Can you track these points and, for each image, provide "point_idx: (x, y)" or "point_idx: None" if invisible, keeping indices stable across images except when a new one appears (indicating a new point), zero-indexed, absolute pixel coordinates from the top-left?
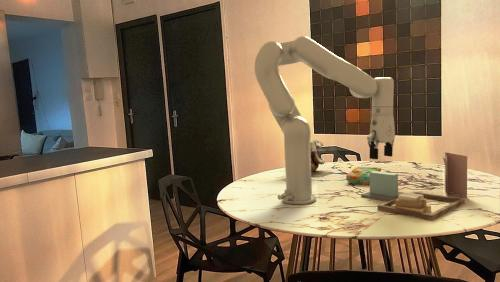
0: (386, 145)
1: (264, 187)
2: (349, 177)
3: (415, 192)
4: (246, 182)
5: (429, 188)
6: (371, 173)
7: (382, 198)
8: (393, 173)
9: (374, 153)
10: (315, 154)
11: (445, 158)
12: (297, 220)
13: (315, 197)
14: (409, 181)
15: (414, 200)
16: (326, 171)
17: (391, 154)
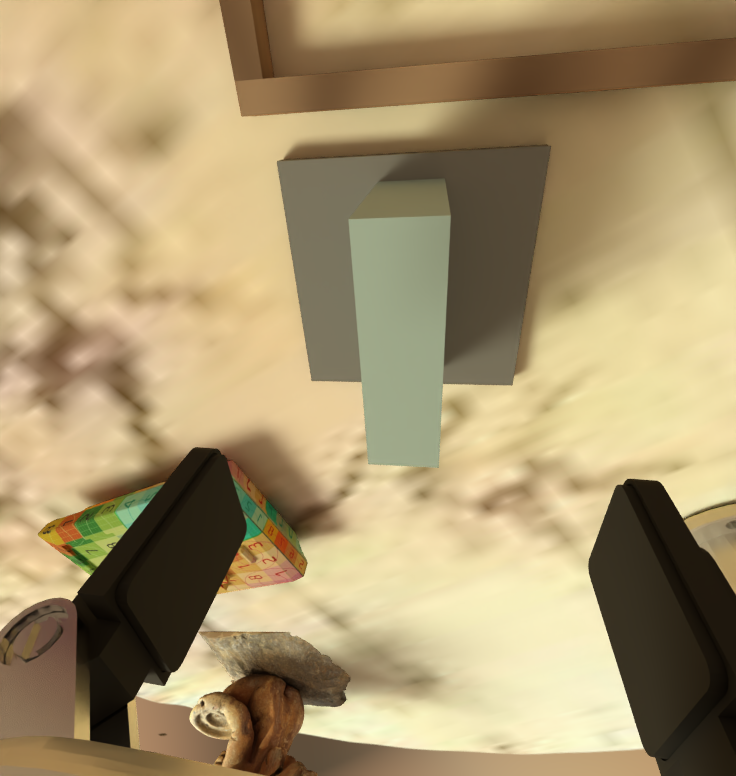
0: (146, 665)
1: (565, 695)
2: (296, 560)
3: (259, 70)
4: (527, 739)
5: (4, 139)
6: (438, 446)
7: (537, 222)
8: (364, 270)
9: (734, 602)
10: (236, 760)
11: None
12: None
13: (725, 521)
14: (12, 348)
15: None
16: (223, 650)
17: (201, 467)
